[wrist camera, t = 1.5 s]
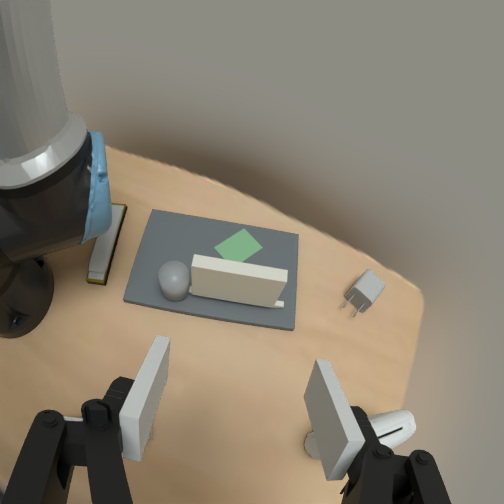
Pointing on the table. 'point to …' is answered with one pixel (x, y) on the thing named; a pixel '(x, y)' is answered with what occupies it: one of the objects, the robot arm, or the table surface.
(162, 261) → the gray rectangular board
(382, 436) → the photo printer
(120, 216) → the harmonica
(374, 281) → the usb wall charger
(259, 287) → the cream slab with knob
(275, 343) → the table surface
